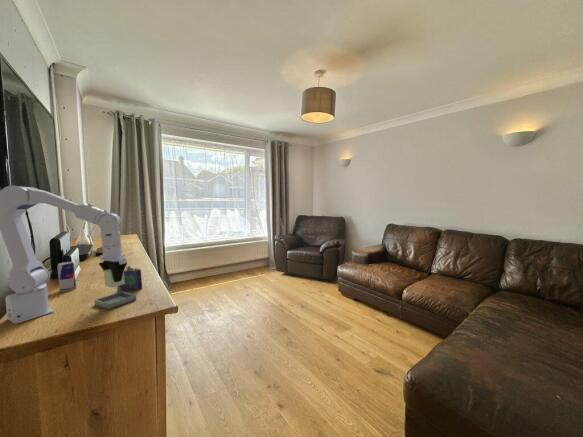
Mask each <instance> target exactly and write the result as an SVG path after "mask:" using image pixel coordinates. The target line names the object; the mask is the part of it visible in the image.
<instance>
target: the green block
mask: <svg viewBox="0 0 583 437" xmlns="http://www.w3.org/2000/svg"><path fill="white" fill-rule="evenodd" d="M103 273H104V274H103V275H104V276H103V277H104V286H105V287H108V288H111V289H112V288H115V287H117V286H119V285H122V284H125V281H124V272H123V276H122V280H121V281H119V282H114V279H113V275H112V272H111V269H107V270H104V271H103Z"/></svg>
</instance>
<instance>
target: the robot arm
mask: <svg viewBox="0 0 583 437" xmlns="http://www.w3.org/2000/svg"><path fill="white" fill-rule="evenodd" d="M38 204H46V205H49V206H52V207H56V208H58V209H62V210H64V211H68V212H70V213H73V214H74V216H75V217H76V218H77V219H80V220H82V221H86V222H88V223H91V224H93V225H98V227H99V228H100V230H101V231H100V236H101V238H100V239H101V248H102V254H101V255H99V260H100V261H101V262H99V263H98V266H99V267H101V269H102V271H103V272H104V270H107V269H111V272H112V275H113V279H114V282H119V281H121V280H122V276H123V272H124V270H126V267H127V266H128V262H127V258H126V254H122V240H121V231H120V225H121V224H122V218H121V216H119V215H118V214H117V213H115V212H109V210H107V209H101V208H98V207H96V206H95V204H93V203H90V202H89V203H85V202H84V203H81V204H79V203H77V202H73V201H71V200H69V199H66V198H65V197H64V198H63V197H61V196H58V195H57V194H54V193H52V192H49V191H46V190H43V189H38V188H36V187H34V186H33V187H32V186H19V185H8V186H5V187H4V188H2V189H1V190H0V234H1V237H2V240H3V242H4V244H5V247H6V249H7V253H8V255H9V258H10V260H11V263H12V267H11V269H10V271H9V273H8V274H9V276H10V278H9V279H10V280H9V284H8V285H9V288H10V289H11V290H12V291H13V292H15V293H11V294H8V295H6V296H5V308H6V309H5V310H6V320H8V321H9V322H11V323H12V324H14V325H17V324H20V323H23V322H27V321H29V320H32V319H33V320H34V319H36V318H39V317H43V316H45V315H49V314H52V313H54V312H55V309H52V308H50V306H49V305H50V304H49V294H48V285H47V282H48V280H50V277H51V273H50V271H49V270H48V269H47V268H46V267H44V264H43V262H41V261H40V260H38V259H37V257H36V254H35V252H34V249H33V246H32V243H31V241H30V238H29V235H28V232H27V230H26V226H25V224H24V221H23V218H22V215H24V214H25V213H26V211H27V210H29V209H30V208H32V207H34V206H37V205H38Z"/></svg>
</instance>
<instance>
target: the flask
mask: <svg viewBox="0 0 583 437" xmlns="http://www.w3.org/2000/svg"><path fill="white" fill-rule="evenodd" d="M142 280H143V279H142V270H141V268H137V267H136V268H133V267H131V265H126V267H125V269H124V281H125V284H122V285H119V286H116V287H117V288H116V289H117V293H118V292H121V291H124V292H131V291H139V290H142V289H143V281H142Z"/></svg>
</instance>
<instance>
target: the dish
mask: <svg viewBox="0 0 583 437" xmlns="http://www.w3.org/2000/svg"><path fill="white" fill-rule="evenodd" d="M136 301H137V295H136V294H132V293H131V292H130V293H129V292H128V291H121V292H118V291H117V292H116V293H112V294H109V295H105V296H103V297H100V298H96V299H94V306H96V307H98V308H102V309H104V310H106V311H110V310H113V309H116V308H119V307H121V306H124V305H126V304H129V303H133V302H136Z"/></svg>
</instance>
